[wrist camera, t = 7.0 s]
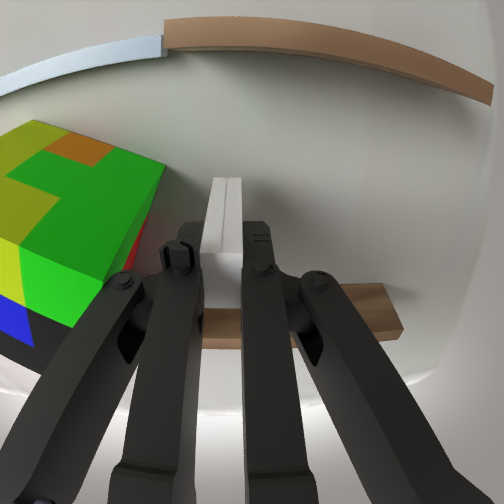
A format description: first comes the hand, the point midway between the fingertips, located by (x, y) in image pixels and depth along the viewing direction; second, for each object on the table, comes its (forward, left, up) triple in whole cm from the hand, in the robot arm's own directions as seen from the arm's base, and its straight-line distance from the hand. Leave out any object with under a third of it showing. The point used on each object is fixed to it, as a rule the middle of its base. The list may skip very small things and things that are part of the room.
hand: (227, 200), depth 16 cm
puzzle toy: (+1, -10, -2) cm, 11 cm away
